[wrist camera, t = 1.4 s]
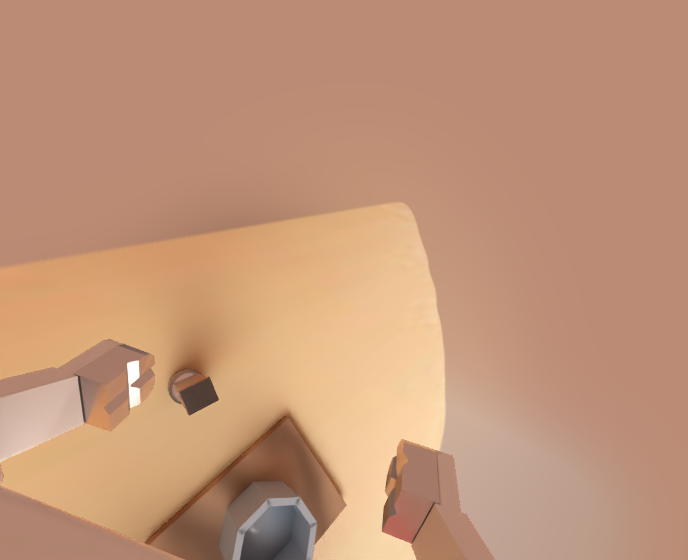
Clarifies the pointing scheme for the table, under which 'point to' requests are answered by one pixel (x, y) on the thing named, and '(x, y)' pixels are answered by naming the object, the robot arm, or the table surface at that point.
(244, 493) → the utensil crock
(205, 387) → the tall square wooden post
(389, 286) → the table surface
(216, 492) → the serving board
